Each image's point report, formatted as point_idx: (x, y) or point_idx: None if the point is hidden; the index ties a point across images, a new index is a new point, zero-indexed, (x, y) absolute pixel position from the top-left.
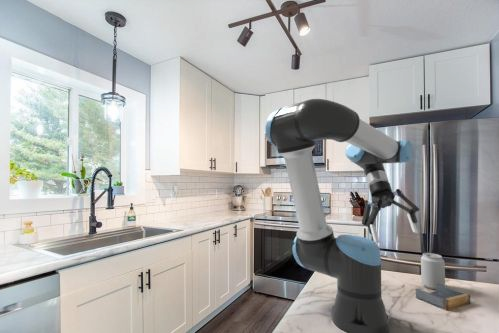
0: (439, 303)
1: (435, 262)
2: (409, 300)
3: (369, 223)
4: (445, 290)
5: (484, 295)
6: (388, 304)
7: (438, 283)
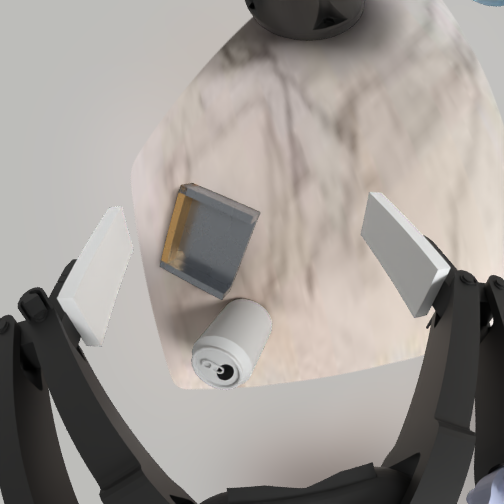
0: (201, 189)
1: (205, 336)
2: (267, 181)
3: (455, 278)
4: (208, 280)
5: (167, 325)
6: (298, 114)
7: (225, 307)
